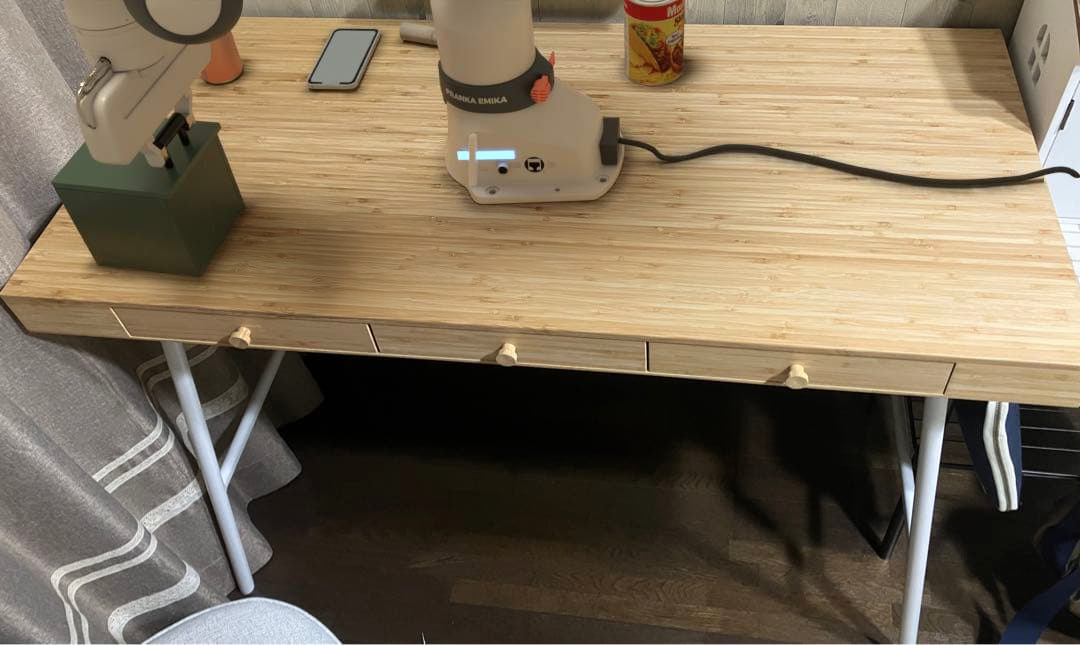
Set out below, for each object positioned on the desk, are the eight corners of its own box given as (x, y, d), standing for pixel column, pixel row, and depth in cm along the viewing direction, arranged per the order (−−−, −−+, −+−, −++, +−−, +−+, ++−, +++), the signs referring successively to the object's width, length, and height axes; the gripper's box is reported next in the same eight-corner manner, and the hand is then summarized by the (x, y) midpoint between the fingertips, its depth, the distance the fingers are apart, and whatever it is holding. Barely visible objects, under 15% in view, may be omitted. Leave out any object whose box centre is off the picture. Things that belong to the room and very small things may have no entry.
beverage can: (194, 80, 144) (156, -16, 133) (220, 58, 148) (186, -38, 137) (226, 89, 142) (190, -8, 131) (252, 66, 146) (220, -30, 135)
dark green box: (245, 205, 125) (215, 127, 116) (200, 277, 116) (164, 199, 108) (148, 195, 127) (111, 119, 119) (96, 264, 119) (53, 188, 111)
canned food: (685, 83, 134) (688, 2, 126) (626, 88, 135) (625, 6, 126) (680, 51, 140) (682, -30, 131) (623, 55, 140) (621, -25, 131)
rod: (400, 43, 147) (397, 26, 145) (409, 33, 148) (406, 16, 146) (473, 56, 143) (470, 39, 141) (481, 46, 145) (479, 29, 143)
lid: (221, 128, 116) (208, 92, 112) (170, 199, 108) (154, 164, 104) (111, 118, 119) (94, 84, 115) (53, 187, 111) (33, 152, 107)
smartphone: (381, 28, 148) (355, 85, 138) (383, 33, 149) (356, 91, 139) (333, 27, 150) (303, 84, 139) (335, 33, 150) (305, 90, 140)
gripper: (100, 96, 93) (154, 209, 103) (199, -18, 106) (238, 92, 116) (40, 91, 94) (100, 204, 104) (146, -21, 107) (189, 89, 118)
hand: (174, 144), depth 110 cm, fingers closed on lid, 5 cm apart
